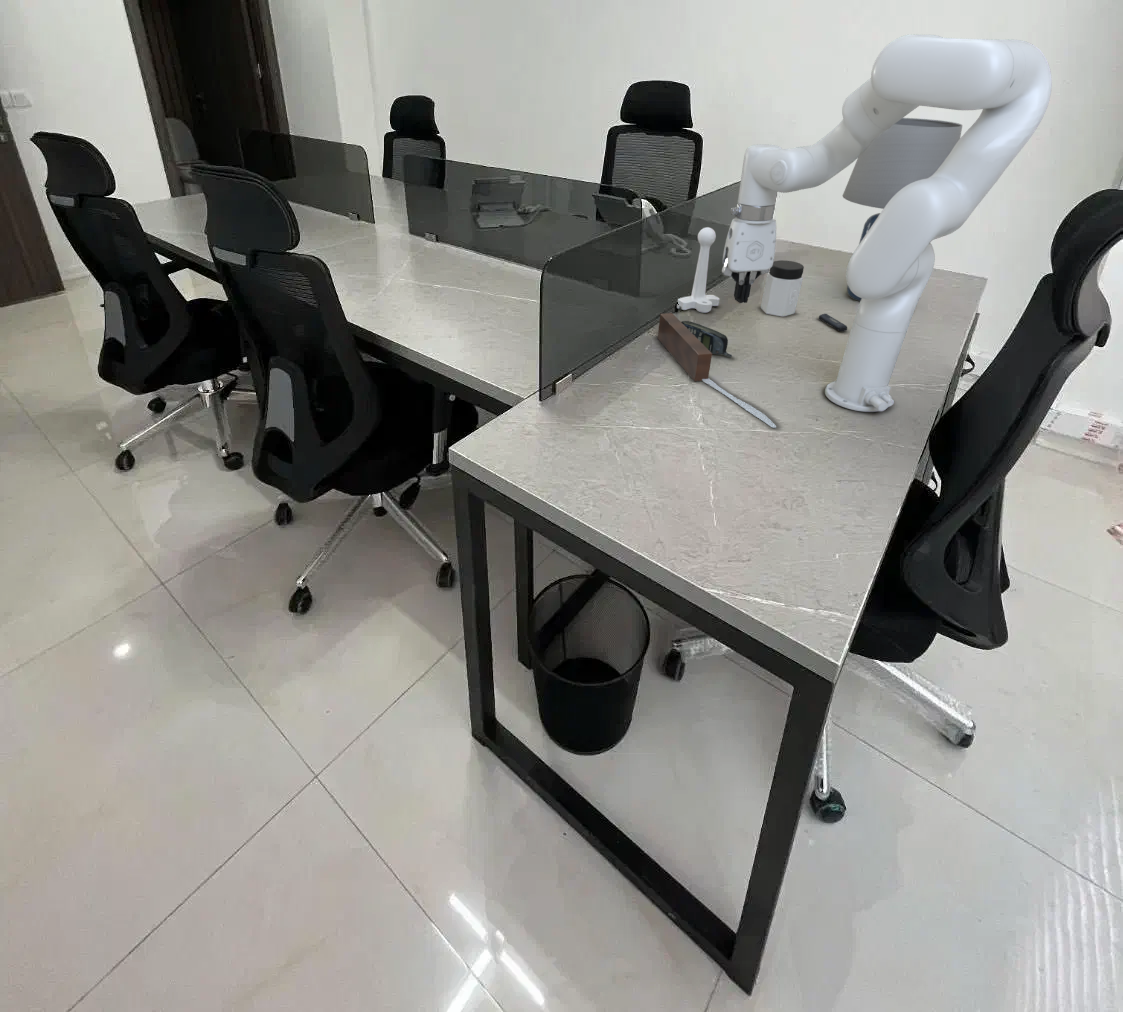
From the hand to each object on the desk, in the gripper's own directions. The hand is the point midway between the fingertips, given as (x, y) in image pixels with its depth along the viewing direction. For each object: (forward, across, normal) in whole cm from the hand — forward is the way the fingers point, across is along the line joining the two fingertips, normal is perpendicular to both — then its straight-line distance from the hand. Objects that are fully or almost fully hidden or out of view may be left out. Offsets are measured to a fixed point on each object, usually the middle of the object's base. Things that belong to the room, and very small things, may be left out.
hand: (740, 301), depth 146 cm
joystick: (+11, +2, +27) cm, 29 cm away
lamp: (+11, +52, +28) cm, 61 cm away
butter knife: (+12, -11, -23) cm, 28 cm away
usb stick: (+12, +32, +10) cm, 35 cm away
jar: (+11, +22, +22) cm, 33 cm away
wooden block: (+11, -14, -3) cm, 18 cm away
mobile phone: (+11, -7, +1) cm, 13 cm away
